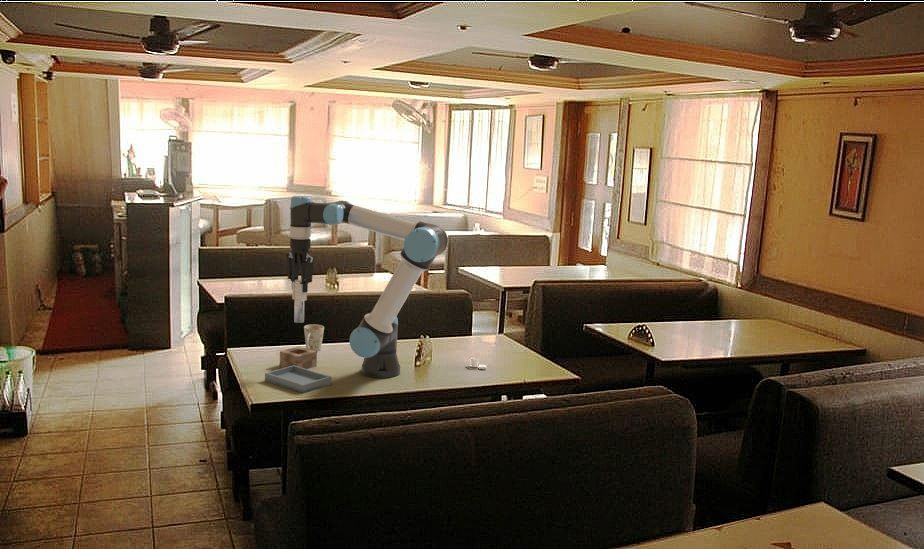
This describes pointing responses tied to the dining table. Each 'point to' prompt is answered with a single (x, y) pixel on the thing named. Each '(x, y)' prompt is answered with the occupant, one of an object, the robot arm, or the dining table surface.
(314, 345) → the mug
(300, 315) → the steel pin
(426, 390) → the dining table surface
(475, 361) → the teacup and saucer
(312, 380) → the slate tray
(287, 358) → the wooden hollow square frame
